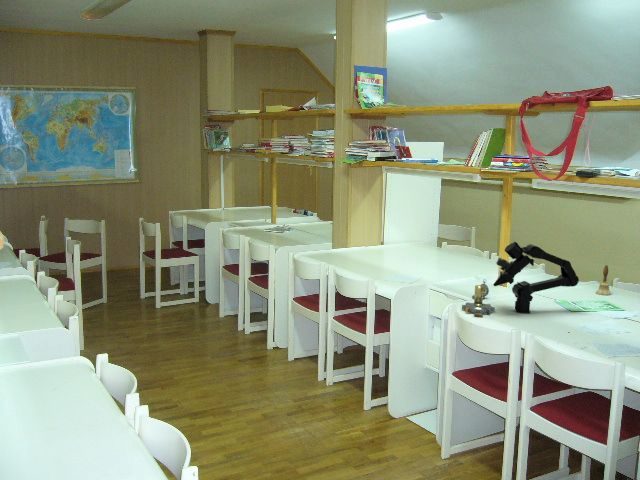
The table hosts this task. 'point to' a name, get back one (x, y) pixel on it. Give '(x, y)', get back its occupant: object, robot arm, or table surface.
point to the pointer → (478, 315)
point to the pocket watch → (485, 287)
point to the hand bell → (604, 284)
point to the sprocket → (478, 303)
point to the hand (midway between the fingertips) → (493, 285)
